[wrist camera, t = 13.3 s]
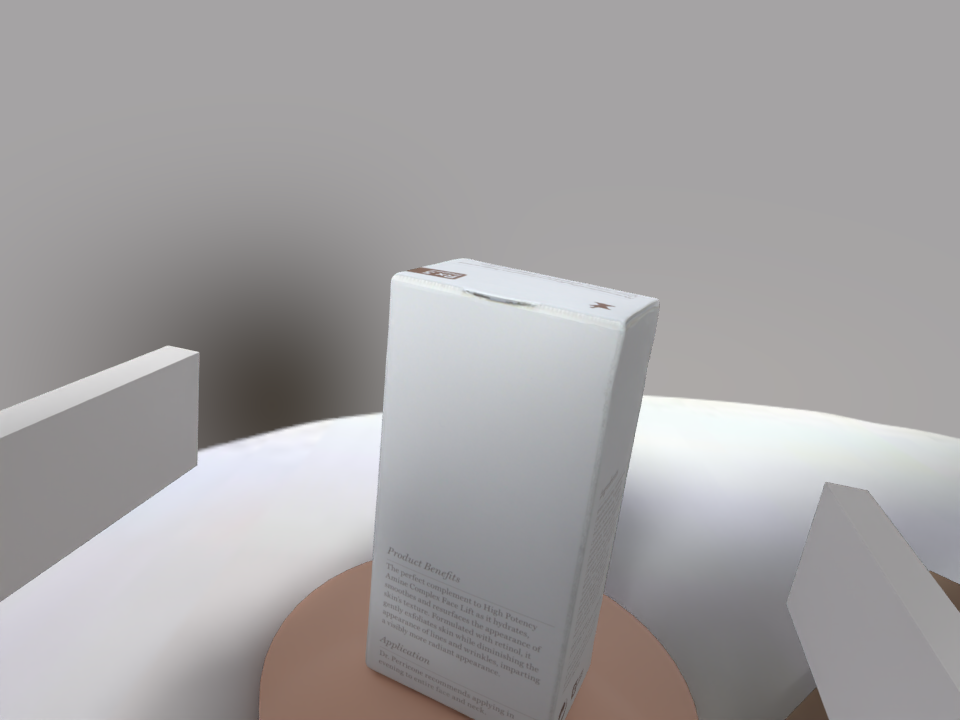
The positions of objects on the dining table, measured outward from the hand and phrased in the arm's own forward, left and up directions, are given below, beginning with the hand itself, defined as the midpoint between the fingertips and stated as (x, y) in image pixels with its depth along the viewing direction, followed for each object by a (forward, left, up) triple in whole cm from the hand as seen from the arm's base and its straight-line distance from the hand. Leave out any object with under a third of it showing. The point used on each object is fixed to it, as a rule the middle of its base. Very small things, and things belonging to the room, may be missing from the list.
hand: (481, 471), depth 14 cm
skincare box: (+2, -4, -9) cm, 10 cm away
